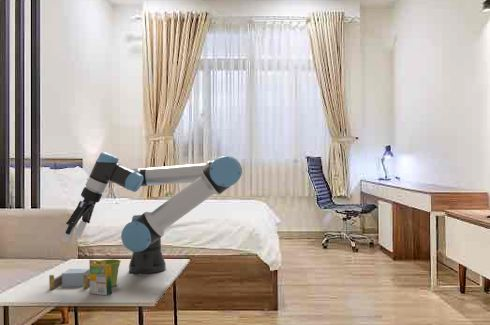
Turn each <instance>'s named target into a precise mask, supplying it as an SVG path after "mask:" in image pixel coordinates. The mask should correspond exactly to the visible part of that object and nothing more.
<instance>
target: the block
mask: <svg viewBox="0 0 490 325" xmlns="http://www.w3.org/2000/svg"><path fill="white" fill-rule="evenodd" d="M83 274H88V277H89V276H90V268H69V269H67V270H65V271H63V272H62V273H61V275H62V284H61V287H63V288H64V287H83Z"/></svg>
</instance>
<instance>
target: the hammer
mask: <svg viewBox="0 0 490 325" xmlns="http://www.w3.org/2000/svg"><path fill="white" fill-rule="evenodd" d="M48 278H49V281H48V284H49V290H50V291H52V290H55V289H56V288H58V287H60V286H62V274H59V275H58V276H57V277H55V275H54V274H49V276H48ZM82 287H83V290H88V289H90V276H89V277H88V274H83V286H82Z"/></svg>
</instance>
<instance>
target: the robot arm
mask: <svg viewBox="0 0 490 325" xmlns="http://www.w3.org/2000/svg"><path fill="white" fill-rule="evenodd" d="M242 168H243V167H242V165H241V163H240V162H239V161H238V160H237V159H236V158H235V157H233V156H231V155H220V156H218V157H216V158H215V159H214V160H208V161H207V162H205V163H194V164H193V163H192V164H181V165H169V166H168V165H167V166H156V167H155V166H153V167H144V168H142V167H140V168H139V167H138V168H129V167H127V166H124V165H121V164H120V163H119V157H117V156H115V155H113V154H111V153H109V152H105V151H102V152H100V154H99V155H98V157H97V159H96V160H95V163H94V165H93V167H92V170H91V172H90V174H89V176H88V177H87V178H86V183H85V186H84V187H83V188H82V191H81V193H80V196H81V197H82V198H83V200H80V201H79V202H78V205H77V206H76V208H74V211H73V212H72V214H71V215H70V217H69V219H68V220H67V221H66V223H65V224H66V225H67V226H66V229H65V231H64V232H63V234H62V236H61V238H60V241H62V242H63V243H66V244H68V243H69V242H70V239H71V238H72V236H75V237H77V238H79V239H81V237H82V234H83V233H84V230H85V229H86V226H87V224H90V223H91V218H92V216H93V212H94V209H95V205H96V204H97V203H99V202H100V201H101V198H102V196H103V194H102V193H104V192H105V190H106V188H107V186H108V183H109V181H110V182H112V183H114V184H116V185H118V186H120V187H121V188H124V189H126V190H127V191H130V192H132V193H136V192H138V191H139V190H140V188H141V187H149V186H159V185H176V184H177V185H178V184H188V185H187V186H185V187H184V188H182V189H181V190H180V191H179V192H177V193H176V194H174V195H173V196H172V197H170V198H169V199H168V200H166V201H165V202H163V203H162V204H161V205H159V206H158V207H157V208H155V209H154V210H153V211H145V212H144V213H141V214H134V215H132V217H131V222H128V223H127V224H125V226H124V227H123V228H122V230H121V235H120V238H121V242H122V244H123V246H124V247H125V248H126V249H127V250H128V251H131V252H132V254H131V258H130V261H129V265H128V271H129V273H132V274H154V273H158V272H162V271H165V270H166V269H167V268H166V267H167V265H166V261H165V258H164V255H163V253H162V242H161V241H162V239H161V238H162V237H163V236H164V234H165V230H167V229H168V228H169V227H171V226H172V225H174V224H175V223H176V222H177V221H179V220H180V219H182V218H183V217H184V216H186V215H187V214H188V213H190V212H191V211H192V210H194V209H195V208H196V207H198V206H200V205H201V204H202V203H203V202H205V201H206V200H207V199H209V198H210V197H211V196H213V195H221V194H222V193H224V192H225V191H226V190H228V189H229V188H230V187H232V186H234V185H235V184H237V183H238V181H239V180H240V179H241V176H242V174H243V171H242ZM77 224H78V225H77ZM76 226H77V227H76ZM74 231H75V232H74ZM73 233H74V234H73Z"/></svg>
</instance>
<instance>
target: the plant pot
mask: <svg viewBox="0 0 490 325" xmlns="http://www.w3.org/2000/svg"><path fill="white" fill-rule="evenodd" d="M100 261H106V265H111V279H112V287H115V286H116V285H117V283H118V274H119V267H120V266H121V265H120V263H121V262H122V261H121V260H120V259H114V258H113V259H111V258H110V259H101V260H100ZM94 264H101V263H100V262H94Z"/></svg>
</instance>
